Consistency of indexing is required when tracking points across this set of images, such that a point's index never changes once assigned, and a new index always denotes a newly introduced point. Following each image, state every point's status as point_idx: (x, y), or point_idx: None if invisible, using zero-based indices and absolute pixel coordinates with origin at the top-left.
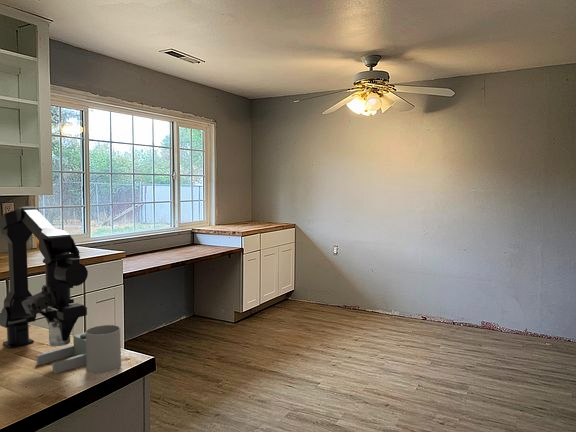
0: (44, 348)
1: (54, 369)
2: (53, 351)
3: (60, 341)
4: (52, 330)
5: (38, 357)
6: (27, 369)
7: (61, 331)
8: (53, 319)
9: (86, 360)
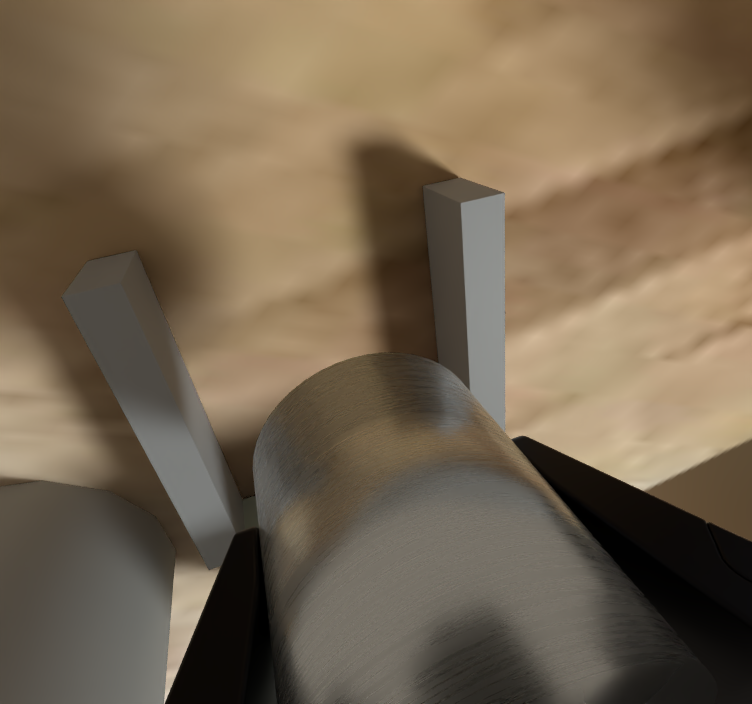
0: (710, 294)
1: (86, 272)
2: (476, 341)
3: (256, 501)
4: (363, 576)
5: (454, 200)
6: (392, 68)
7: (198, 694)
8: (739, 687)
9: (7, 549)
